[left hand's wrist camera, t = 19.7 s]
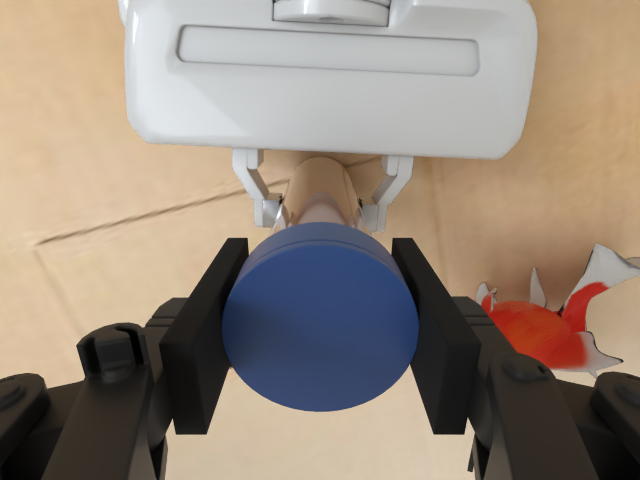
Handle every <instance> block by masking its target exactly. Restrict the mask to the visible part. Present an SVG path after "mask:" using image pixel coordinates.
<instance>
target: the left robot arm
mask: <svg viewBox="0 0 640 480" xmlns="http://www.w3.org/2000/svg"><path fill="white" fill-rule="evenodd" d="M391 256H392V257H393V258H394V260H395V262H396V263H397V265H398V267H399V269H400V271H401V273H402V276H403V278H404V280H405V282H406V284H407V286H408V288H409V291H410V293H411V295H412V297H413V300H414V302H415V305H416V308H417V312H418V316H419V331H418V340H417V348H416V351H415V354H414V356H413V359H412V361H411V363H410V366H411V369H412V372H413V375H414V377H415V380H416V383H417V386H418V389H419V392H420V395H421V398H422V401H423V404H424V407H425V410H426V413H427V416H428V419H429V422H430V425H431V428H432V431H433V434H456V435H464V433H465V428H466V423H467V418H469V420H470V423H471V425H472V427H473V429H474V431H475V435H474V440H473V445H472V449H471V454H470V459H469V464H468V471H469V472H473V467H474V470H475V480H640V377H637V376H634V375H630V374H627V373H620V372H605V373H602V374H601V375H599V376H598V377H597V379H596V382H595V385H594V387H590V386H585V385H580V384H576V383H571V382H566V381H562V380H559V379H556V378H555V376H554V374H553V373H552V372H551V370H550V369H549V368H548V367H547V366H546V365H544V364H543V363H542V362H540V361H539V360H537V359H535V358H533V357H531V356H528V355H525V354H522V353H518V352H517V351H516V350H515V349H514V347H513V346H512V345H511V343H510V342H509V341H508V340H507V338H506V337H505V336H504V334H503V333H502V332H501V331H500V329H499V328H498V327H497V326H495V323H494V322H493V320H492V319H491V318H490V317H489V315H488V314H487V313H486V311H485V310H484V309H483V307H482V306H481V305H480V304H478V303H477V302H475V301H474V300H472V299H470V298H469V297H451V296H450V295H449V293H448V292H447V290H446V288H445V287H444V285H443V284H442V282H441V281H440V279H439V278H438V276H437V275H436V273H435V272H434V270H433V269H432V267H431V266H430V264H429V263H428V261H427V260H426V258H425V257H424V255H423V254H422V252H421V251H420V249H419V248H418V246H417V245H416V243H415V242H414V240H413V238H393V241H392V254H391ZM248 257H249V251H248V238H228V239H227V240H226V242H225V243H224V245H223V246H222V248H221V249H220V251H219V252H218V254H217V255H216V257H215V259H214V260H213V262H212V263H211V265H210V266H209V268H208V269H207V271H206V272H205V274H204V275H203V277H202V278H201V280H200V281H199V283H198V284H197V286H196V287H195V289H194V290H193V292H192V293H191V295H190V296H189V298H172V299H170V300H169V301H167V302H166V303H164V304H163V305H161V306H160V307H159V308H158V309H157V310H156V312H155V313H154V314H153V316H152V319H150V320H149V321H148V322H147V323H146V325H145V327H143V328H142V327H141V326H139V325H138V324H133V323H116V324H112V325H108V326H104V327H102V328H99V329H97V330H94V331H92V332H91V333H89V334H88V335H86V336H85V337H83V338H82V339H81V340H80V342H79V343H78V344H77V345H76V346H77V350H78V353H79V357H80V360H81V364H82V367H83V370H84V374H85V379H84V380H83V381H80V382H76V383H72V384H67V385H62V386H58V387H53V388H49V389H47V387H46V384H45V381H44V379H43V378H42V377H41V376H39V375H38V374H32V373H24V374H18V375H13V376H9V377H7V378H3V379H0V480H165V471H166V462H167V452H168V446H167V440H166V435H165V434H166V431H167V429H168V427H169V425H170V423H171V421H172V418H173V422H174V427H175V432H176V434H207V431H208V428H209V425H210V422H211V420H212V417H213V414H214V411H215V408H216V405H217V402H218V399H219V396H220V393H221V390H222V387H223V384H224V381H225V378H226V375H227V372H228V369H229V366H230V361H229V359H228V357H227V355H226V352H225V349H224V345H223V337H222V328H221V321H222V315H223V310H224V307H225V304H226V301H227V298H228V296H229V294H230V292H231V290H232V288H233V285H234V283H235V281H236V279H237V277H238V275H239V273H240V270H241V268H242V267H243V265H244V263H245V261H246V259H247V258H248Z"/></svg>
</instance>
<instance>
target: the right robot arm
mask: <svg viewBox="0 0 640 480" xmlns="http://www.w3.org/2000/svg"><path fill="white" fill-rule="evenodd" d="M118 7H119V14H120V18H121V21H122V23H123V26H124V28H125V48H124V74H125V96H126V109H127V117H128V121H129V123H130V125H131V126H132V127H133V129H134V130H135V131H136V132H137V133H138V135H139V136H140V137H141V138H142V139H143V140H144V141H145V142H146V143H149V144H163V145H185V146H206V147H228V148H232V162H233V170H234V172H235V173H236V175H237V176H238V178H239V180H240V181H241V183H242V184H243V186H244V188H245V189H246V191H247V192H248V194H249V196H250V197H251V199H254V224H255V227H262V228H264V227H271V228H272V226H273V223H274V220H275V218H276V215H277V212H278V210H279V207H280V204H281V202H282V193H269V190H268V189H267V187H266V185H265V183H264V181H263V180H262V178H261V176H260V174H259V172H258V170H257V168H258V167H259V166H260V165H261V164H262V163H263V162H264V149H271V150H292V151H314V152H335V153H357V154H378V155H382V159H381V168H382V169H383V170H384V171H385V172H386V173H387V175H386V177H385V178H384V180H383V181H382V183H381V184H380V186H379V187H378V189H377V190H376V192H375V193H374V194H373V196H372V197H359V203H360V206H361V209H362V211H363V214H364V217H365V219H366V222H367V225H368V227H369V230H370V232H381V233H383V232H384V230H385V223H386V215H387V206H388V205H390V204H391V203H392V202H393V200H394V199H395V198H396V196H397V195H398V194H399V193H400V191H401V190H402V189H403V187H404V186H405V185H406V183H407V182H408V181H409V179H410V178H411V175H412V168H413V161H414V156H421V157H443V158H464V159H487V160H498V159H501V158H502V157H503V156H505V155H506V154H507V153H508V152H509V151H510V150H511V149H512V148H513V147H514V146H515V145H516V144H517V143H518V141H519V140H520V138H521V135H522V132H523V129H524V125H525V121H526V117H527V112H528V107H529V102H530V97H531V91H532V85H533V79H534V72H535V64H536V56H537V46H538V26H537V20H536V16H535V13H534V10H533V8H532V7H531V5H530V3H529V2H528V1H527V0H118Z"/></svg>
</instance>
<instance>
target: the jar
mask: <svg viewBox="0 0 640 480" xmlns="http://www.w3.org/2000/svg"><path fill="white" fill-rule="evenodd" d="M310 222H330V223H338V224H342V225H347V226H350V227H352V228H355V229H358V230H360V231H362V232H364V233H366V234H368V235H369V236H371V237H372V235H371V232H370V230H369V227H368V225H367V222H366V219H365V217H364V214H363V211H362V209H361V206H360V203H359V201H358V198H357V195H356V193H355V190H354V187H353V185H352V182H351V179H350V177H349V174H348V172H347V171H346V169H345V168H344V167H343V166H342V165H341V164H340V163H339V162H337V161H335V160H333V159H331V158H328V157H313V158H310V159H307V160H305V161H303V162H302V163H301V164H299V165H298V166H297V167H296V169H295V170H294V172H293V173H292V175H291V178H290V180H289V183H288V186H287V188H286V191H285V194H284V196H283V199H282V202H281V204H280V207H279V210H278V212H277V215H276V218H275V220H274V223H273V226H272V228H271V231H270V234H269V236H268V237H270V236H271V235H273V234H275V233H276V232H278V231H281V230H283V229H285V228H288V227H291V226H295V225H298V224H303V223H310Z"/></svg>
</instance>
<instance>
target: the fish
mask: <svg viewBox="0 0 640 480" xmlns="http://www.w3.org/2000/svg"><path fill="white" fill-rule="evenodd" d="M638 275H640V257H632V258H627V259H623V258H622V257H621V256H619V255H618V254H617V253H616V252H614V251H612V250H610V249H608V248H606V247H604V246H602V245H600V244H598V243H596V244H595V246H594V249H593V251H592V253H591V255H590V258H589V261H588V264H587V266H586V269H585V272H584V275H583V276H582V278H581V279H580V281H579V282H578V284H577V285H576V287H575V288H574V290H573V291H572V293H571V294H570V296H569V297H568V299H567V300H566V301H565V303H564V304H563V306H562V307H561V309H560V310H559V311H555V312H552V311H550V310H548V309H546V306H547V299H546V296H545V293H544V291H543V288H542V286H541V283H540V280H539V277H538V274H537V271H536V268H533V271H532V277H531V283H530V301H529V302H522V301H502V302H497V301H496V298H495V297H494V296H493V295H494V294H495V293H496V292H497V287H498V286H497V287H495V288H494V289H493V290H491V291H489V289H488V287H487V285H486V284H485V283H482V284H481V285H480V287H479V289H478V292H477V294H476V302H477V303H478V304H480V305H481V306H482V307H483V309H484V310H485V311H486V313H487V314H488V315H489V317H490V318H491V319H492V320H493V322H494V323H495V326H497V327H498V328H499V329H500V331H501V332H502V333H503V334H504V336H505V337H506V338H507V340H508V341H509V342H510V343H511V345H512V346H513V347H514V349H515V350H516V351H517V352H518V353H522V354H525V355H528V356H531V357H533V358H535V359H537V360H539V361H540V362H542V363H543V364H544V365H546V366H547V367H548V368H549V369H550V370H558V371H568V372H589V373H590V374H591V375H592V376H594V377H595V378H596V379H597V374H596V371H595V370H599V369H603V368H607V367H610V366H613V365H617V364H620V363H622V362H623V360H622V359H619V358H615V357H611V356H608V355H605V354H603V353H601V352H600V351H599V350H598V349H597V347H596V344H595V339H594V336H593V334H592V333H591V332H589V331H587V328H586V321H585V316H586V309H587V305H588V303H589V301H590V299H591V298H592V297H594V296H595V295H597V294H600V293H602V292H603V291H605V290H607V289H609V288H611V287H613V286H615V285H617V284H619V283H621V282H623V281H625V280H628V279H630V278H633V277H635V276H638ZM496 302H497V303H496Z"/></svg>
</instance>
